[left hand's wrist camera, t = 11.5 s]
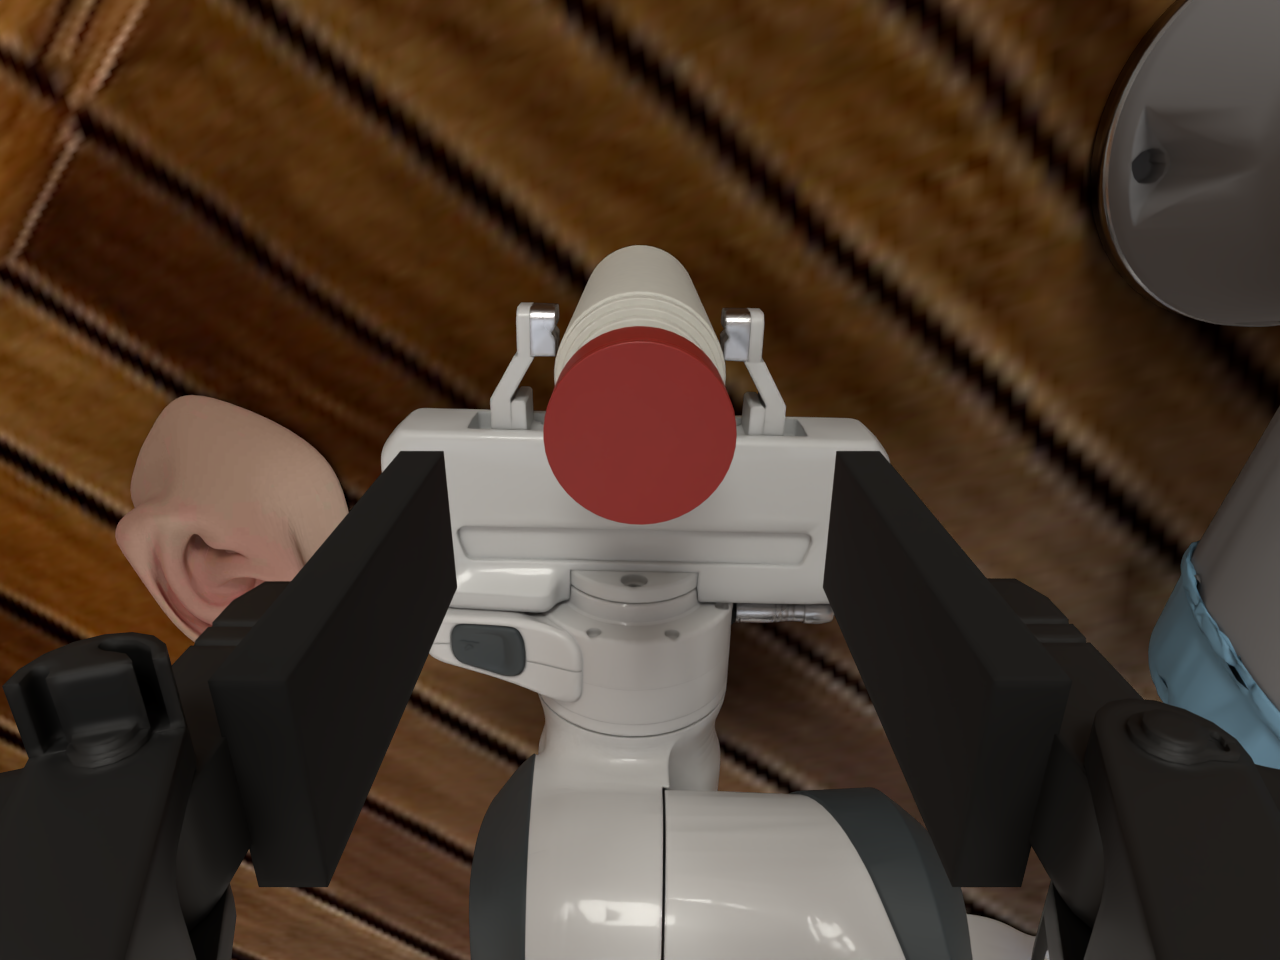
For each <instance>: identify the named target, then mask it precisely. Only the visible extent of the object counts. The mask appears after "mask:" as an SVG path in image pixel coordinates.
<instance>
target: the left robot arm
mask: <svg viewBox="0 0 1280 960" xmlns="http://www.w3.org/2000/svg"><path fill="white" fill-rule="evenodd" d="M1090 188H1091V202H1092V209H1093V215H1094V220H1095V224H1096V228H1097V231H1098V235H1099V238H1100V240H1101V242H1102V245H1103V247H1104V250H1105V252H1106V254H1107V255H1108V257H1109V259H1110V261H1111V263H1112V264H1113V266H1114V267H1115V268H1116V270H1117V271H1118V273H1119V274H1120V275H1121V277H1122V278H1123V279H1124V280H1125V281H1126V282H1127V283H1128V284H1129V285H1130V286H1131V287H1132V288H1133V289H1134V290H1135V291H1137V292H1138V293H1139V294H1140V295H1141V296H1143V297H1144V298H1146V299H1147V300H1149V301H1150V302H1152V303H1154V304H1155V305H1157V306H1159V307H1161V308H1164V309H1166V310H1168V311H1170V312H1173V313H1176V314H1179V315H1182V316H1185V317H1189V318H1193V319H1196V320H1200V321H1204V322H1209V323H1213V324H1220V325H1229V326H1245V327H1265V326H1277V325H1280V0H1176V1H1175V2H1174V3H1173V4H1172V5H1171V6H1170V7H1169V8H1168V9H1167V10H1166V11H1165V12H1164V14H1163V15H1162V16H1161V17H1160V18H1159V19H1158V20H1157V21H1156V22H1155V23H1154V25H1153V26H1152V27H1151V28H1150V30H1149V31H1148V32H1147V33H1146V35H1145V36H1144V37H1143V38H1142V40H1141V41H1140V43H1139V44H1138V46H1137V47H1136V48H1135V50H1134V51H1133V53H1132V54H1131V56H1130V57H1129V59H1128V61H1127V62H1126V64H1125V66H1124V68H1123V69H1122V71H1121V73H1120V75H1119V77H1118V79H1117V81H1116V83H1115V85H1114V87H1113V89H1112V91H1111V93H1110V95H1109V98H1108V101H1107V103H1106V106H1105V108H1104V111H1103V114H1102V117H1101V120H1100V124H1099V127H1098V130H1097V135H1096V139H1095V144H1094V149H1093V156H1092V165H1091V187H1090ZM456 589H457V579H456V569H455V559H454V549H453V539H452V529H451V519H450V509H449V499H448V489H447V479H446V469H445V459H444V451H400V452H399V453H398V454H397V456H396V457H395V458H394V459H393V460H392V462H391V463H390V464H389V465H388V466H387V468H386V469H385V470H384V471H383V472H382V473H381V475H380V476H379V477H378V478H377V479H376V481H375V482H374V483H373V484H372V485H371V487H370V488H369V489H368V490H367V491H366V493H365V494H364V495H363V496H362V497H361V499H360V500H359V501H358V502H357V503H356V504H355V506H354V507H353V508H352V509H351V510H350V512H349V513H348V514H347V515H346V516H345V518H344V519H343V520H342V521H341V522H340V524H339V525H338V526H337V527H336V528H335V530H334V531H333V532H332V533H331V534H330V536H329V537H328V538H327V539H326V540H325V541H324V543H323V544H322V545H321V546H320V547H319V549H318V550H317V551H316V552H315V553H314V555H313V556H312V557H311V558H310V559H309V561H308V562H307V563H306V564H305V565H304V567H303V568H302V569H301V570H300V571H299V572H298V574H297V575H296V576H295V577H294V578H293V580H292V581H265V582H263V583H262V584H260V585H258V586H256V587H255V588H253V589H251V590H250V591H248V592H246V593H244V594H243V595H241V596H239V597H238V598H236V599H234V600H233V601H232V602H231V603H230V604H229V605H228V606H227V607H226V608H225V609H224V610H223V611H222V612H221V614H220V615H219V616H218V617H217V618H216V619H215V620H214V621H213V622H212V627H207V628H206V630H205V631H204V632H203V633H202V634H201V635H200V636H199V637H198V638H197V639H196V640H195V645H194V646H190V647H189V648H188V649H187V650H186V651H185V652H184V653H183V654H182V655H181V656H180V657H179V658H178V659H177V661H176V662H175V663H174V664H173V665H172V666H171V662H170V658H169V654H168V651H167V647H166V644H165V643H163V642H162V641H161V640H159V639H158V638H156V637H155V636H153V635H147V634H140V633H134V632H129V633H116V634H105V635H100V636H96V637H92V638H88V639H84V640H80V641H76V642H73V643H70V644H68V645H65V646H63V647H60V648H58V649H55V650H53V651H50V652H48V653H45V654H43V655H42V656H40V657H38V658H37V659H35V660H34V661H32V662H30V663H29V664H27V665H25V666H24V667H22V668H20V669H19V670H18V671H17V672H16V673H15V674H14V675H13V676H12V677H11V678H10V679H9V680H8V681H7V682H6V683H5V684H4V685H3V686H2V687H3V689H4V692H5V695H6V697H7V700H8V703H9V706H10V708H11V711H12V714H13V716H14V719H15V722H16V725H17V727H18V730H19V733H20V735H21V738H22V741H23V744H24V746H25V749H26V752H27V754H28V757H29V759H28V761H27V763H26V765H25V767H24V768H22V769H18V770H13V771H8V772H3V773H0V960H231V954H232V946H233V938H234V930H235V923H236V910H235V903H234V897H233V894H232V890H231V886H230V881H231V880H232V878H233V876H234V874H235V873H236V871H237V869H238V867H239V866H240V864H241V862H242V860H243V859H244V857H245V855H246V853H247V852H248V850H249V849H250V853H251V857H252V861H253V865H254V869H255V873H256V877H257V881H258V885H259V887H328V885H329V883H330V881H331V878H332V876H333V874H334V872H335V869H336V867H337V865H338V862H339V860H340V858H341V855H342V853H343V851H344V848H345V846H346V844H347V841H348V839H349V837H350V835H351V832H352V830H353V828H354V825H355V823H356V821H357V818H358V816H359V814H360V811H361V809H362V807H363V804H364V802H365V800H366V798H367V795H368V793H369V791H370V788H371V786H372V784H373V781H374V779H375V777H376V774H377V772H378V770H379V767H380V765H381V763H382V761H383V758H384V756H385V754H386V751H387V749H388V747H389V744H390V742H391V740H392V737H393V735H394V733H395V730H396V728H397V726H398V724H399V721H400V719H401V717H402V714H403V712H404V710H405V707H406V705H407V703H408V700H409V698H410V696H411V693H412V691H413V689H414V687H415V684H416V682H417V680H418V677H419V675H420V673H421V670H422V668H423V666H424V663H425V661H426V659H427V657H428V654H429V652H430V650H431V647H432V645H433V643H434V640H435V638H436V636H437V633H438V631H439V629H440V626H441V624H442V622H443V620H444V617H445V615H446V613H447V610H448V608H449V606H450V603H451V601H452V599H453V596H454V594H455V592H456ZM823 589H824V592H825V594H826V596H827V599H828V601H829V603H830V606H831V608H832V610H833V613H834V615H835V617H836V620H837V622H838V624H839V626H840V629H841V631H842V633H843V636H844V638H845V640H846V643H847V645H848V647H849V650H850V652H851V654H852V657H853V659H854V661H855V663H856V666H857V668H858V670H859V673H860V675H861V677H862V680H863V682H864V684H865V687H866V689H867V691H868V694H869V696H870V698H871V700H872V703H873V705H874V707H875V710H876V712H877V714H878V717H879V719H880V721H881V724H882V726H883V728H884V730H885V733H886V735H887V737H888V740H889V742H890V744H891V747H892V749H893V751H894V754H895V756H896V758H897V761H898V763H899V765H900V767H901V770H902V772H903V774H904V777H905V779H906V781H907V784H908V786H909V788H910V791H911V793H912V795H913V798H914V800H915V802H916V804H917V807H918V809H919V811H920V814H921V816H922V818H923V821H924V823H925V825H926V828H927V830H928V832H929V835H930V837H931V839H932V841H933V844H934V846H935V848H936V851H937V853H938V855H939V858H940V860H941V862H942V865H943V867H944V869H945V872H946V874H947V876H948V878H949V881H950V883H951V885H952V887H1021V885H1022V881H1023V877H1024V873H1025V869H1026V865H1027V861H1028V857H1029V853H1030V849H1031V846H1032V847H1033V849H1034V851H1035V853H1036V854H1037V856H1038V858H1039V860H1040V861H1041V863H1042V865H1043V867H1044V868H1045V870H1046V872H1047V873H1048V875H1049V877H1050V879H1051V882H1050V886H1049V890H1048V894H1047V897H1046V901H1045V905H1044V908H1043V912H1042V916H1041V920H1040V923H1039V927H1038V931H1037V935H1036V938H1035V942H1034V946H1033V951H1032V957H1031V960H1044V959H1045V955H1046V951H1047V950H1048V952H1049V960H1280V406H1279V408H1278V410H1277V411H1276V413H1275V415H1274V416H1273V418H1272V420H1271V421H1270V423H1269V425H1268V427H1267V428H1266V430H1265V432H1264V433H1263V435H1262V437H1261V438H1260V440H1259V442H1258V443H1257V445H1256V447H1255V449H1254V450H1253V452H1252V454H1251V455H1250V457H1249V459H1248V460H1247V462H1246V464H1245V465H1244V467H1243V469H1242V471H1241V472H1240V474H1239V476H1238V477H1237V479H1236V481H1235V482H1234V484H1233V486H1232V487H1231V489H1230V491H1229V493H1228V494H1227V496H1226V498H1225V499H1224V501H1223V503H1222V504H1221V506H1220V508H1219V509H1218V511H1217V513H1216V515H1215V516H1214V518H1213V520H1212V521H1211V523H1210V525H1209V526H1208V528H1207V530H1206V531H1205V533H1204V535H1203V537H1202V538H1201V540H1200V541H1197V542H1193V543H1191V545H1190V546H1189V547H1188V549H1187V550H1186V551H1185V553H1184V555H1183V557H1182V561H1181V576H1180V578H1179V580H1178V582H1177V584H1176V586H1175V588H1174V590H1173V592H1172V594H1171V596H1170V598H1169V600H1168V602H1167V604H1166V606H1165V607H1164V609H1163V611H1162V613H1161V615H1160V617H1159V619H1158V621H1157V623H1156V625H1155V627H1154V629H1153V632H1152V634H1151V638H1150V642H1149V650H1148V655H1149V668H1150V673H1151V677H1152V680H1153V682H1154V684H1155V686H1156V689H1157V693H1158V695H1159V697H1160V698H1161V700H1162V701H1163V703H1162V702H1158V701H1154V700H1144V699H1143V698H1142V697H1141V696H1140V695H1139V694H1138V693H1137V692H1136V691H1135V690H1134V689H1133V688H1132V686H1131V685H1130V684H1129V683H1128V682H1127V681H1126V680H1125V679H1124V678H1123V677H1122V676H1121V675H1120V674H1119V673H1118V672H1117V671H1116V670H1115V668H1114V667H1113V666H1112V665H1111V664H1110V663H1109V662H1108V661H1107V660H1106V659H1105V658H1104V657H1103V656H1102V655H1101V654H1100V653H1099V651H1098V650H1097V649H1096V648H1095V647H1094V646H1093V645H1092V644H1091V643H1086V638H1085V637H1084V636H1083V635H1082V633H1081V632H1080V631H1079V630H1078V629H1077V628H1076V627H1075V626H1074V625H1073V624H1069V623H1068V619H1067V618H1066V616H1065V615H1064V614H1063V613H1062V612H1061V611H1060V610H1059V609H1058V608H1057V607H1056V606H1055V605H1054V604H1053V603H1052V602H1051V601H1050V600H1049V598H1048V597H1046V596H1044V595H1042V594H1041V593H1039V592H1037V591H1036V590H1034V589H1032V588H1030V587H1029V586H1027V585H1025V584H1023V583H1022V582H1020V581H1018V580H1017V579H987V578H986V577H985V576H984V575H983V574H982V572H981V571H980V570H979V569H978V568H977V567H976V565H975V564H974V563H973V562H972V561H971V559H970V558H969V557H968V556H967V555H966V553H965V552H964V551H963V550H962V549H961V547H960V546H959V545H958V544H957V543H956V541H955V540H954V539H953V538H952V537H951V536H950V534H949V533H948V532H947V531H946V530H945V528H944V527H943V526H942V525H941V524H940V522H939V521H938V520H937V519H936V518H935V516H934V515H933V514H932V513H931V512H930V510H929V509H928V508H927V507H926V506H925V504H924V503H923V502H922V501H921V500H920V499H919V497H918V496H917V495H916V494H915V493H914V491H913V490H912V489H911V488H910V487H909V485H908V484H907V483H906V482H905V481H904V479H903V478H902V477H901V476H900V475H899V473H898V472H897V471H896V470H895V469H894V468H893V466H892V465H891V464H890V463H889V462H888V460H887V459H886V458H885V457H884V456H883V454H882V453H881V452H880V451H836V459H835V469H834V479H833V489H832V499H831V509H830V519H829V529H828V539H827V549H826V559H825V569H824V579H823Z"/></svg>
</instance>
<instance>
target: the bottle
mask: <svg viewBox="0 0 1280 960" xmlns="http://www.w3.org/2000/svg"><path fill="white" fill-rule="evenodd" d="M632 326H649V327H655V328H661V329H665V330H668V331H671V332H674V333H676V334H678V335H680V336H683V337H684V338H686V339H688V340H689V341H691V342H692V343H694V344H695V345H696V346H698V347H699V348H700V349H701V350H702V351H703V352H704V353H705V354H706V355H707V356H708V357H709V358H710V359H711V361H712V362H713V364H714V365H715V367H716V368H717V370H718V372H719V373H720V375H721V377H722V379H723V382H724V385H725V381H726V369H725V361H724V356H723V352H722V349H721V346H720V343H719V341H718V339H717V336H716V334H715V332H714V330H713V327H712V325H711V323H710V321H709V318H708V316H707V314H706V312H705V310H704V307H703V305H702V303H701V301H700V298H699V296H698V294H697V292H696V289H695V287H694V285H693V283H692V280H691V278H690V276H689V274H688V272H687V271H686V269H685V268H684V267H683V265H682V264H681V263H680V262H679V261H678V260H677V259H676V258H674V257H673V256H672V255H670V254H669V253H667V252H665V251H663V250H661V249H658V248H655V247H651V246H644V245H636V246H629V247H625V248H622V249H619V250H617V251H615V252H613V253H611V254H610V255H608V256H607V257H606V258H604V259H603V260H602V261H601V262H600V263H599V264H598V265H597V267H596V268H595V269H594V271H593V273H592V274H591V276H590V278H589V280H588V283H587V285H586V287H585V289H584V292H583V294H582V296H581V298H580V301H579V303H578V305H577V307H576V310H575V312H574V314H573V316H572V319H571V321H570V323H569V325H568V327H567V330H566V332H565V334H564V336H563V339H562V341H561V344H560V346H559V348H558V352H557V356H556V360H555V368H554V382H555V385H556V382H557V380H558V378H559V375H560V373H561V371H562V370H563V368H564V366H565V365H566V363H567V362H568V361H569V360H570V358H571V357H572V356H573V355H574V354H575V353H576V352H577V351H578V350H579V349H580V348H581V347H582V346H584V345H585V344H586V343H588V342H589V341H591V340H592V339H594V338H596V337H598V336H600V335H601V334H604V333H606V332H609V331H612V330H615V329H619V328H624V327H632Z"/></svg>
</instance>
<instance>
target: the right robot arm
mask: <svg viewBox="0 0 1280 960" xmlns="http://www.w3.org/2000/svg"><path fill="white" fill-rule="evenodd" d="M558 320H559V305H558V304H550V303H520V305H519V306H518V307H517V315H516V330H517V352H516V354H515V355H514V357H513V359H512V361H511V363H510V364H509V366H508V368H507V370H506V372H505V373H504V375H503V377H502V379H501V381H500V382H499V384H498V386H497V388H496V390H495V391H494V393H493V395H492V397H491V399H490V406H491V410H482V409H439V408H421V409H417V410H415V411H413V412H412V413H411V414H410V415H409V416H407V417H406V418H405V419H404V420H403V421H402V422H401V423H400V424H399V425H398V426H397V427H396V428H395V430H394V431H393V432H392V434H391V435H390V436H389V438H388V439H387V441H386V443H385V444H384V447H383V450H382V455H381V466H382V472H383V471H384V470H385V469H386V468H387V466H388V465H389V464H390V463H391V462H392V460H393V459H394V458H395V457H396V456H397V454H398V453H399V452H400V451H444V459H445V469H446V479H447V489H448V499H449V509H450V519H451V529H452V539H453V549H454V559H455V569H456V579H457V589H456V592H455V594H454V596H453V599H452V601H451V603H450V606H449V608H448V610H447V613H446V615H445V617H444V620H443V622H442V624H441V626H440V629H439V631H438V633H437V636H436V638H435V640H434V643H433V645H432V647H431V650H430V652H429V654H430V655H431V656H433V657H434V658H436V659H438V660H440V661H442V662H445V663H448V664H452V665H455V666H459V667H462V668H466V669H470V670H473V671H476V672H480V673H483V674H486V675H490V676H493V677H496V678H499V679H502V680H505V681H508V682H511V683H514V684H517V685H519V686H522V687H525V688H527V689H530V690H532V691H534V692H537V693H538V694H539V698H540V701H541V704H542V706H543V709H544V714H545V726H544V729H543V731H542V734H541V738H540V742H539V752H538V755H536V754H533V755H532V756H530V757H529V758H528V759H527V760H526V761H525V762H524V763H523V764H522V765H521V766H520V767H519V768H518V769H517V770H516V771H515V773H514V774H513V775H512V776H511V778H510V779H509V780H508V781H507V783H506V784H505V785H504V786H503V788H502V789H501V790H500V792H499V793H498V794H497V795H496V797H495V798H494V799H493V801H492V802H491V804H490V806H489V808H488V810H487V812H486V814H485V817H484V819H483V822H482V824H481V827H480V831H479V834H478V838H477V842H476V846H475V851H474V857H473V862H472V869H471V879H470V895H469V927H470V951H471V960H1031V957H1032V951H1033V946H1034V942H1035V938H1036V936H1031V935H1028V934H1025V933H1023V932H1020V931H1018V930H1017V929H1015V928H1013V927H1011V926H1009V925H1007V924H1005V923H1002V922H1000V921H997V920H994V919H991V918H987V917H983V916H978V915H971V914H967V913H966V909H965V904H964V899H963V895H962V890H961V887H952V885H951V883H950V881H949V878H948V876H947V874H946V872H945V869H944V867H943V865H942V862H941V860H940V858H939V855H938V853H937V851H936V848H935V846H934V844H933V841H932V839H931V837H930V835H929V832H928V831H927V830H926V829H925V828H924V827H923V826H922V825H921V824H920V823H919V822H918V821H917V820H916V819H914V818H913V817H912V816H911V815H910V814H908V813H907V812H906V811H905V810H904V809H903V808H901V807H900V806H899V805H898V804H897V803H895V802H894V801H893V800H891V799H890V798H889V797H887V796H886V795H885V794H883V793H882V792H881V791H879V790H877V789H875V788H870V787H867V788H848V789H829V790H809V791H795V792H792V793H790V794H773V793H749V792H724V791H717V790H718V781H719V771H720V746H719V740H718V737H717V734H716V730H715V720H716V717H717V715H718V713H719V711H720V709H721V706H722V704H723V701H724V697H725V692H726V684H727V673H728V661H729V648H730V635H731V624H733V622H743V623H773V622H780V621H781V622H783V621H800V622H802V623H806V624H821V623H828V622H831V621H832V620H833V615H834V613H833V610H832V608H831V606H830V603H829V601H828V599H827V596H826V594H825V592H824V589H823V579H824V569H825V559H826V549H827V539H828V529H829V519H830V509H831V499H832V489H833V479H834V469H835V459H836V451H880V452H881V453H882V454H883V456H884V457H885V458H886V459H887V460H888V462H889V463H890V460H889V457H888V455H887V453H886V451H885V449H884V448H883V446H882V445H881V443H880V442H879V441H878V439H877V438H876V437H875V436H874V435H873V433H872V432H871V431H870V430H869V429H868V428H867V427H865V426H864V425H863V424H862V423H861V422H860V421H858V420H856V419H852V418H817V417H785V412H786V405H785V403H784V401H783V399H782V397H781V395H780V393H779V391H778V389H777V387H776V385H775V383H774V381H773V379H772V377H771V375H770V373H769V370H768V368H767V366H766V364H765V362H764V361H763V359H762V346H763V334H764V313H763V312H762V311H761V310H760V308H723V309H722V314H721V324H722V326H723V328H724V330H723V331H722V332H721V334H720V346H721V349H722V352H723V356H724V360H728V361H744V363H745V365H746V367H747V369H748V371H749V373H750V375H751V377H752V379H753V381H754V383H755V385H756V387H757V389H758V394H757V393H756V392H746V393H745V394H744V399H743V411H742V416H735V419H736V428H737V438H736V448H735V452H734V456H733V460H732V462H731V465H730V468H729V470H728V472H727V474H726V476H725V477H724V479H723V481H722V482H721V484H720V485H719V486H718V488H717V489H716V490H715V491H714V492H713V493H712V495H711V496H710V497H709V498H708V499H706V500H705V501H704V502H703V503H702V504H700V505H699V506H698V507H696V508H695V509H693V510H692V511H690V512H688V513H686V514H684V515H682V516H680V517H678V518H675V519H672V520H669V521H665V522H661V523H656V524H646V525H635V524H625V523H619V522H615V521H611V520H608V519H605V518H603V517H600V516H598V515H596V514H594V513H592V512H590V511H588V510H587V509H585V508H584V507H582V506H581V505H580V504H578V503H577V502H576V501H575V500H574V499H572V498H571V497H570V496H569V495H568V494H567V493H566V491H565V490H564V489H563V488H562V486H561V485H560V484H559V482H558V481H557V479H556V477H555V476H554V474H553V472H552V470H551V467H550V465H549V463H548V460H547V456H546V453H545V447H544V440H543V426H544V418H545V413H546V411H533V392H532V388H531V387H526V386H521V387H520V388H519V389H518V385H519V383H520V382H521V380H522V378H523V376H524V374H525V373H526V371H527V369H528V367H529V365H530V364H531V362H532V360H533V358H534V357H535V356H556V353H557V350H558V348H559V346H560V334H559V329H558V327H557V326H556V324H557V322H558ZM1044 960H1049V952H1048V950H1047V951H1046V955H1045V959H1044Z"/></svg>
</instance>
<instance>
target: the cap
mask: <svg viewBox="0 0 1280 960" xmlns="http://www.w3.org/2000/svg"><path fill="white" fill-rule="evenodd" d="M736 438H737V428H736V419H735V414H734V409H733V406H732V403H731V400H730V398H729V395H728V392H727V390H726V387H725V385H724V382H723V379H722V377H721V375H720V373H719V372H718V370H717V368H716V367H715V365H714V364H713V362H712V361H711V359H710V358H709V357H708V356H707V355H706V354H705V353H704V352H703V351H702V350H701V349H700V348H699V347H698V346H696V345H695V344H694V343H692V342H691V341H689V340H688V339H686V338H684V337H683V336H680V335H678V334H676V333H674V332H671V331H668V330H665V329H661V328H655V327H649V326H632V327H624V328H619V329H615V330H612V331H609V332H606V333H604V334H601V335H600V336H598V337H596V338H594V339H592V340H591V341H589V342H588V343H586V344H585V345H584V346H582V347H581V348H580V349H579V350H578V351H577V352H576V353H575V354H574V355H573V356H572V357H571V358H570V360H569V361H568V362H567V363H566V365H565V366H564V368H563V370H562V371H561V373H560V375H559V378H558V380H557V382H556V385H555V387H554V390H553V392H552V395H551V398H550V400H549V403H548V406H547V410H546V413H545V418H544V426H543V440H544V447H545V453H546V456H547V460H548V463H549V465H550V467H551V470H552V472H553V474H554V476H555V477H556V479H557V481H558V482H559V484H560V485H561V486H562V488H563V489H564V490H565V491H566V493H567V494H568V495H569V496H570V497H571V498H572V499H574V500H575V501H576V502H577V503H578V504H580V505H581V506H582V507H584V508H585V509H587V510H588V511H590V512H592V513H594V514H596V515H598V516H600V517H603V518H605V519H608V520H611V521H615V522H619V523H625V524H635V525H646V524H656V523H661V522H665V521H669V520H672V519H675V518H678V517H680V516H682V515H684V514H686V513H688V512H690V511H692V510H693V509H695V508H696V507H698V506H699V505H700V504H702V503H703V502H704V501H705V500H706V499H708V498H709V497H710V496H711V495H712V493H713V492H714V491H715V490H716V489H717V488H718V486H719V485H720V484H721V482H722V481H723V479H724V477H725V476H726V474H727V472H728V470H729V468H730V465H731V462H732V460H733V456H734V452H735V448H736Z"/></svg>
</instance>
